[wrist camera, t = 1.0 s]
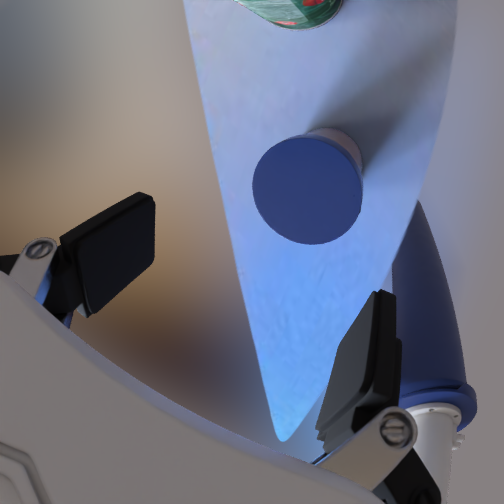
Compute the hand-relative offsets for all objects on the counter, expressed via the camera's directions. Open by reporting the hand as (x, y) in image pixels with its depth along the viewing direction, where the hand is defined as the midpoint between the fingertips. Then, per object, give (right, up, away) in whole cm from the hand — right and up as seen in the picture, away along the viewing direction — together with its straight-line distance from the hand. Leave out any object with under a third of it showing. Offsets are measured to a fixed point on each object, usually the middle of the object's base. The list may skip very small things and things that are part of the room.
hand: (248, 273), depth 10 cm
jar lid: (+3, +4, +7) cm, 9 cm away
